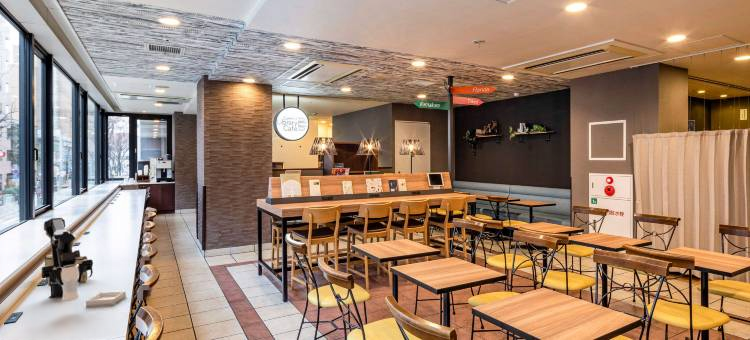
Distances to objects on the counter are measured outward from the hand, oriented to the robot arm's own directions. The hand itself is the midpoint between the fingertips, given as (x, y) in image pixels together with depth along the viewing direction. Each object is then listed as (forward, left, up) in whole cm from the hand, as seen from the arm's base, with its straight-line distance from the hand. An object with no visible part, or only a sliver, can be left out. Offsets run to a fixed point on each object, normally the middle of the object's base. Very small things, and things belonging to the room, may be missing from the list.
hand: (70, 283), depth 184 cm
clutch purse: (-34, +57, -14) cm, 67 cm away
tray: (+9, +12, -13) cm, 20 cm away
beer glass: (-1, +1, -7) cm, 7 cm away
